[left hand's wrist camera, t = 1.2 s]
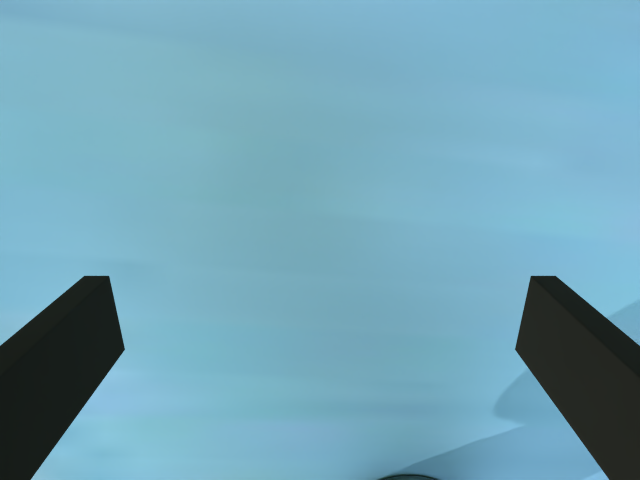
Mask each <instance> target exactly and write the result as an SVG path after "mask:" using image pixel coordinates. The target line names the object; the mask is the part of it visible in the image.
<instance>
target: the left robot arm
mask: <svg viewBox="0 0 640 480" xmlns="http://www.w3.org/2000/svg"><path fill="white" fill-rule="evenodd" d="M124 350H125V348H124V343H123V339H122V334H121V329H120V325H119V320H118V315H117V311H116V306H115V301H114V297H113V292H112V287H111V283H110V278H109V276H84V277H83V278H81V279H80V280H79V281H78V282H77V283H75V284H74V285H73V286H72V287H71V288H69V289H68V290H67V291H66V292H65V293H63V294H62V295H61V296H60V297H59V298H57V299H56V300H55V301H54V302H53V303H51V304H50V305H49V306H48V307H47V308H45V309H44V310H43V311H42V312H41V313H39V314H38V315H37V316H36V317H34V318H33V319H32V320H31V321H30V322H28V323H27V324H26V325H25V326H24V327H22V328H21V329H20V330H19V331H18V332H16V333H15V334H14V335H13V336H12V337H10V338H9V339H8V340H7V341H6V342H4V343H3V344H2V345H1V346H0V480H31V478H32V477H33V476H34V474H35V473H36V471H37V470H38V469H39V467H40V466H41V465H42V463H43V462H44V460H45V459H46V458H47V456H48V455H49V454H50V452H51V451H52V449H53V448H54V447H55V445H56V444H57V442H58V441H59V440H60V438H61V437H62V436H63V434H64V433H65V431H66V430H67V429H68V427H69V426H70V425H71V423H72V422H73V420H74V419H75V418H76V416H77V415H78V413H79V412H80V411H81V409H82V408H83V407H84V405H85V404H86V402H87V401H88V400H89V398H90V397H91V396H92V394H93V393H94V391H95V390H96V389H97V387H98V386H99V384H100V383H101V382H102V380H103V379H104V378H105V376H106V375H107V373H108V372H109V371H110V369H111V368H112V367H113V365H114V364H115V362H116V361H117V360H118V358H119V357H120V355H121V354H122V353H123V351H124ZM515 350H516V351H517V353H518V354H519V355H520V357H521V358H522V360H523V361H524V362H525V364H526V365H527V367H528V368H529V369H530V371H531V372H532V373H533V375H534V376H535V378H536V379H537V380H538V382H539V383H540V384H541V386H542V387H543V389H544V390H545V391H546V393H547V394H548V396H549V397H550V398H551V400H552V401H553V402H554V404H555V405H556V407H557V408H558V409H559V411H560V412H561V413H562V415H563V416H564V418H565V419H566V420H567V422H568V423H569V425H570V426H571V427H572V429H573V430H574V431H575V433H576V434H577V436H578V437H579V438H580V440H581V441H582V442H583V444H584V445H585V447H586V448H587V449H588V451H589V452H590V454H591V455H592V456H593V458H594V459H595V460H596V462H597V463H598V465H599V466H600V467H601V469H602V470H603V471H604V473H605V474H606V476H607V477H608V478H609V480H640V346H639V345H638V344H637V343H636V342H634V341H633V340H632V339H631V338H630V337H628V336H627V335H626V334H625V333H624V332H622V331H621V330H620V329H619V328H618V327H616V326H615V325H614V324H613V323H612V322H610V321H609V320H608V319H607V318H606V317H604V316H603V315H602V314H601V313H599V312H598V311H597V310H596V309H595V308H593V307H592V306H591V305H590V304H589V303H587V302H586V301H585V300H584V299H583V298H581V297H580V296H579V295H578V294H577V293H575V292H574V291H573V290H572V289H571V288H569V287H568V286H567V285H566V284H565V283H563V282H562V281H561V280H560V279H559V278H557V277H556V276H531V278H530V283H529V287H528V292H527V297H526V301H525V306H524V311H523V315H522V320H521V325H520V329H519V334H518V339H517V343H516V348H515ZM384 480H434V479H431V478H427V477H421V476H398V477H392V478H388V479H384Z"/></svg>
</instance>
